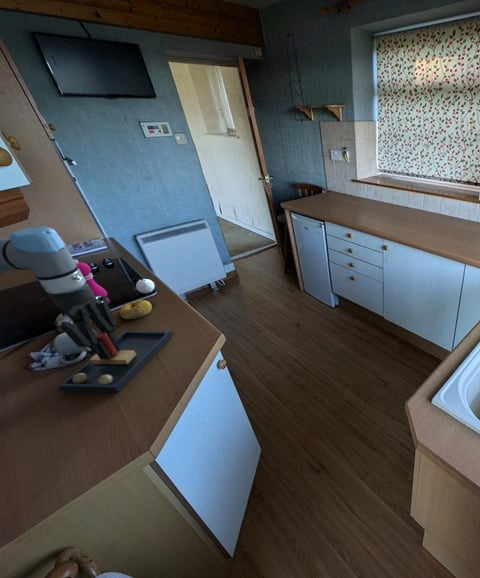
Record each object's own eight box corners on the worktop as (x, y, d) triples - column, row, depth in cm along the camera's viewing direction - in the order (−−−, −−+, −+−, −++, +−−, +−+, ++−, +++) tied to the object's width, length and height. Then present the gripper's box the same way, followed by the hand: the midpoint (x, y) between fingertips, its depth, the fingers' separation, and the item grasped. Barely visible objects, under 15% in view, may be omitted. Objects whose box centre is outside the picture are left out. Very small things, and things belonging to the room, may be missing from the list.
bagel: (153, 302, 120) (148, 292, 117) (153, 316, 112) (148, 306, 109) (123, 309, 115) (117, 299, 112) (120, 324, 107) (114, 314, 105)
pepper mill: (110, 306, 117) (83, 261, 106) (86, 311, 113) (57, 265, 103) (113, 297, 122) (88, 254, 111) (90, 302, 119) (63, 258, 108)
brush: (94, 367, 87) (75, 339, 82) (104, 357, 91) (87, 329, 85) (129, 367, 88) (112, 339, 82) (138, 357, 91) (123, 330, 86)
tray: (63, 391, 82) (58, 385, 81) (127, 335, 102) (124, 330, 101) (118, 392, 82) (114, 387, 81) (172, 336, 102) (169, 331, 101)
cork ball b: (93, 384, 81) (97, 373, 82) (104, 384, 84) (108, 373, 85) (102, 386, 81) (106, 375, 81) (113, 386, 83) (117, 375, 84)
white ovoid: (140, 297, 122) (131, 281, 118) (139, 291, 126) (131, 275, 122) (157, 293, 125) (149, 277, 121) (156, 287, 129) (149, 271, 125)
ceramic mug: (71, 346, 97) (58, 328, 93) (102, 340, 100) (90, 322, 96) (55, 369, 89) (40, 350, 85) (89, 361, 92) (76, 343, 87)
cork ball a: (84, 381, 85) (71, 385, 82) (82, 371, 85) (68, 375, 82) (90, 381, 84) (77, 385, 81) (88, 371, 84) (74, 375, 81)
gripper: (52, 305, 69) (101, 374, 81) (107, 273, 82) (142, 337, 94) (20, 304, 69) (74, 374, 81) (81, 272, 82) (119, 336, 94)
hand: (110, 354), depth 88 cm, fingers closed on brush, 3 cm apart
